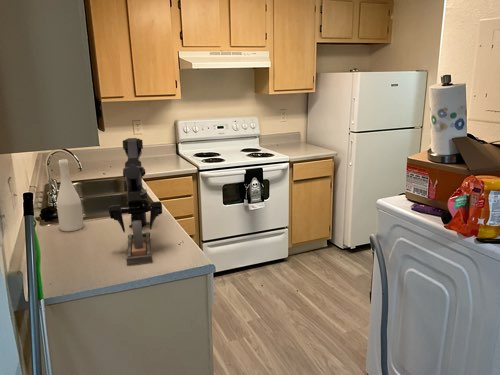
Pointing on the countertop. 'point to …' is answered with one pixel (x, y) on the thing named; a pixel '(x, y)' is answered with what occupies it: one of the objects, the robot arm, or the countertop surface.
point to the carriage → (138, 239)
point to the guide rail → (139, 259)
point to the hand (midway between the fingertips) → (137, 230)
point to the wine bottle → (68, 202)
